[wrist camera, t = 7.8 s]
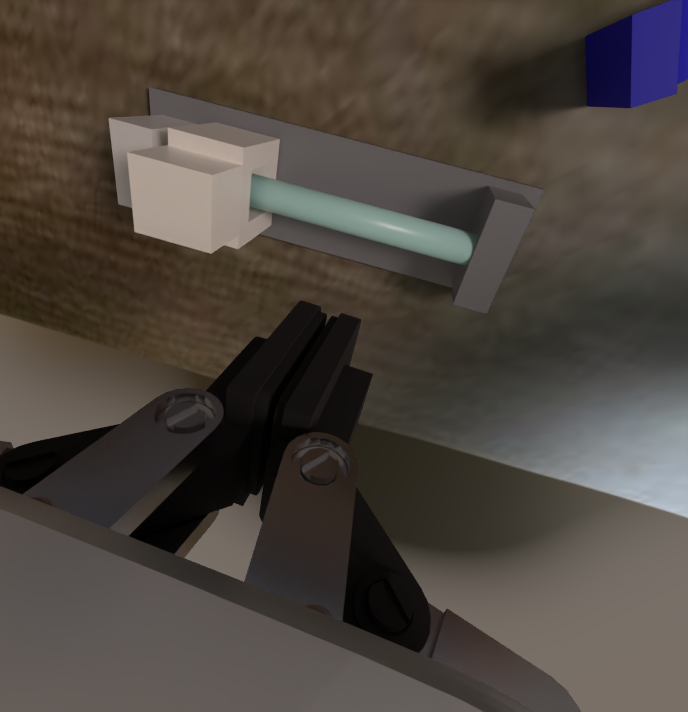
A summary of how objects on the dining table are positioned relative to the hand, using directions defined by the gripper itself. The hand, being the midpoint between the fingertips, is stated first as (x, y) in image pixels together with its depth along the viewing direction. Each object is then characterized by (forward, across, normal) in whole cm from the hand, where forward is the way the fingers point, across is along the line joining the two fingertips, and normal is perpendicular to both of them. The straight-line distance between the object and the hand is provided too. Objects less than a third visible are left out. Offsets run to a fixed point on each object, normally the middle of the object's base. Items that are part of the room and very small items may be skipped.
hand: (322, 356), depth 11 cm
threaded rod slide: (+17, +5, 0) cm, 18 cm away
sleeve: (+16, +10, 0) cm, 19 cm away
